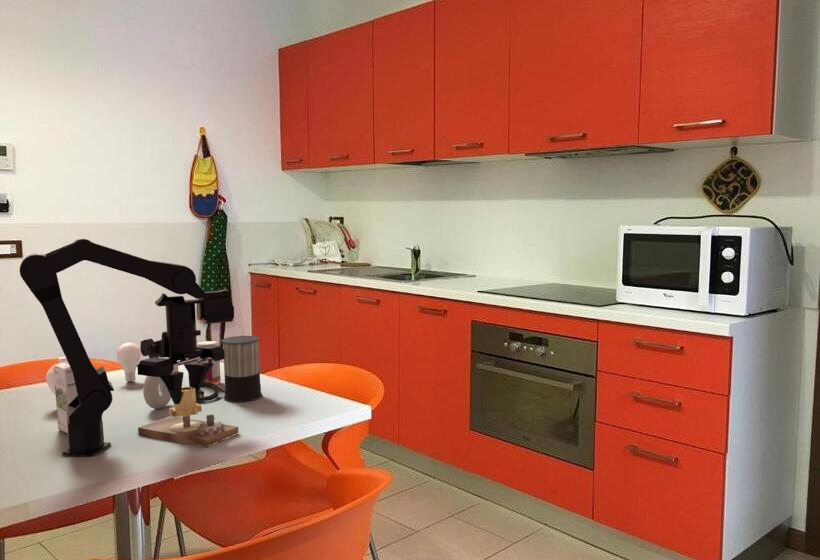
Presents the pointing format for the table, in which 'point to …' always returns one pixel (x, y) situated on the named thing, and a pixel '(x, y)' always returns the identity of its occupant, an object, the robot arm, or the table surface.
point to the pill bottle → (214, 371)
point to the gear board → (188, 430)
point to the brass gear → (186, 403)
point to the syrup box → (63, 393)
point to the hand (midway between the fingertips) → (185, 401)
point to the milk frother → (238, 371)
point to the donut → (155, 392)
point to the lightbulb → (129, 359)
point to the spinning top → (51, 375)
